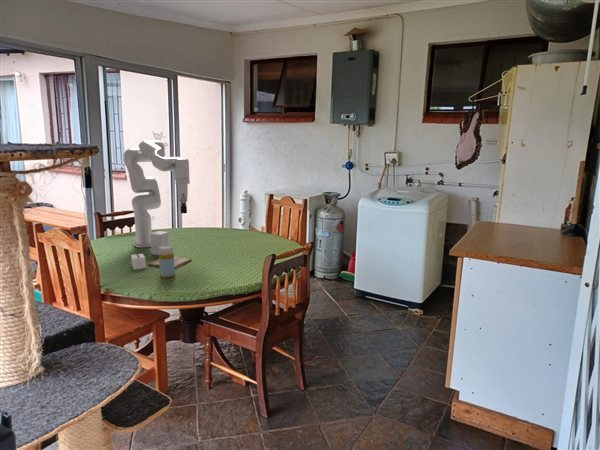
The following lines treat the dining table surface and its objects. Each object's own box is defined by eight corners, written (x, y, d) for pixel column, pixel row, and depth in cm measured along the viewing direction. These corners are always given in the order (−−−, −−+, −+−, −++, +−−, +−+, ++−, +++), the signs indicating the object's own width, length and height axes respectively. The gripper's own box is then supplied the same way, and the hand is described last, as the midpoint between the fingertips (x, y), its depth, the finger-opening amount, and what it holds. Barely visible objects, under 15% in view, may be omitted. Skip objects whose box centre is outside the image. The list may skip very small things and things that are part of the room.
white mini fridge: (133, 269, 216) (133, 257, 215) (131, 265, 222) (131, 254, 221) (145, 268, 219) (144, 256, 218) (143, 264, 225) (142, 252, 224)
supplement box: (169, 252, 248) (168, 231, 245) (161, 255, 241) (160, 234, 238) (159, 251, 250) (158, 230, 247) (151, 254, 243) (149, 233, 241)
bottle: (161, 274, 210) (160, 245, 207) (176, 273, 211) (174, 245, 208) (158, 278, 204) (156, 249, 200) (173, 278, 204) (171, 249, 201)
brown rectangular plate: (148, 265, 223) (147, 256, 222) (167, 257, 238) (167, 248, 237) (173, 269, 218) (172, 259, 217) (191, 261, 233) (191, 252, 231)
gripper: (175, 179, 236) (176, 209, 240) (175, 182, 220) (176, 214, 224) (189, 179, 238) (190, 208, 242) (189, 182, 222) (191, 214, 226)
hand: (183, 211), depth 233 cm, fingers open, 9 cm apart
